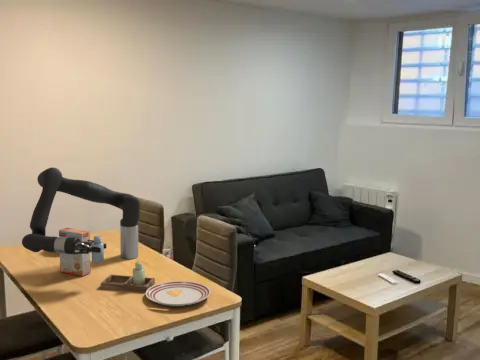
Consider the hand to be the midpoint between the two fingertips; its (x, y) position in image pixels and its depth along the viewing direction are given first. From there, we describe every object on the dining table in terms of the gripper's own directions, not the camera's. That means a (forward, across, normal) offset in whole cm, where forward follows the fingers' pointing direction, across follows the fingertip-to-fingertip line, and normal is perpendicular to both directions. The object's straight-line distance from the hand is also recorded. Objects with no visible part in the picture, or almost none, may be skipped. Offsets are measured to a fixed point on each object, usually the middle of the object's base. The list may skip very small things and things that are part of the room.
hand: (103, 248), depth 224 cm
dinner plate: (+36, -5, +18) cm, 40 cm away
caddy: (+11, +2, +18) cm, 21 cm away
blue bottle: (-3, 0, +6) cm, 7 cm away
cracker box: (-20, +13, +18) cm, 30 cm away
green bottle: (+16, +2, +17) cm, 23 cm away
